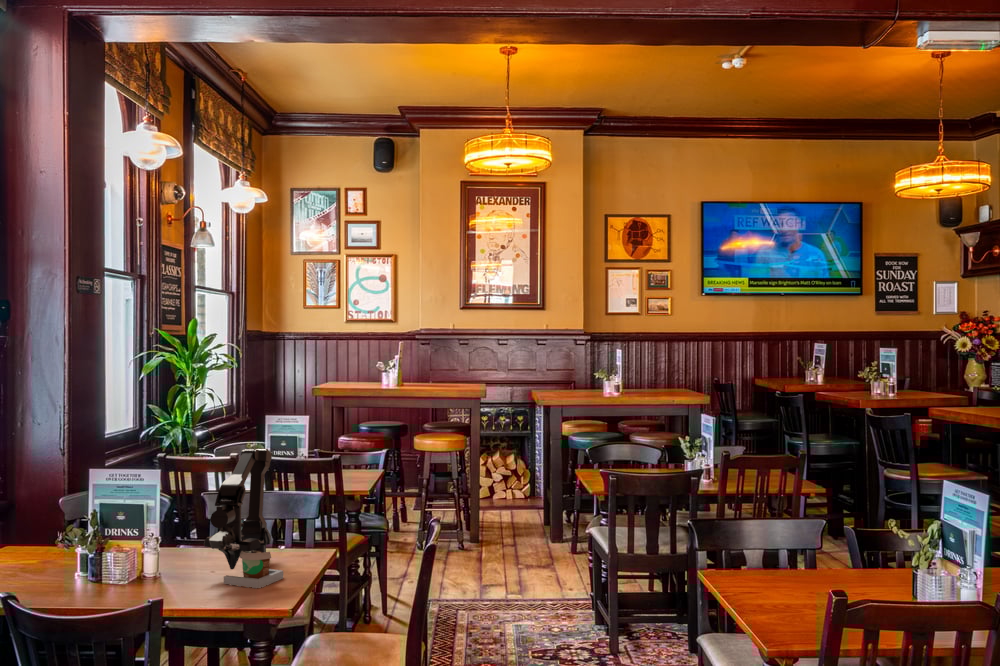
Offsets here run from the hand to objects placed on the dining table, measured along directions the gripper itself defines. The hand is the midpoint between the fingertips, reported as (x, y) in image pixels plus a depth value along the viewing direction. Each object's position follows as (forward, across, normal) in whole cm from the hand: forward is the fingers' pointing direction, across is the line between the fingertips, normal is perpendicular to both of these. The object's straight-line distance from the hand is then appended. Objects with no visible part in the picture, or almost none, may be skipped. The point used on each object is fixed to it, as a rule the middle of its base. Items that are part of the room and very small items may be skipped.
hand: (232, 569), depth 261 cm
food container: (+3, +8, -1) cm, 9 cm away
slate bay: (+3, +8, 0) cm, 8 cm away
